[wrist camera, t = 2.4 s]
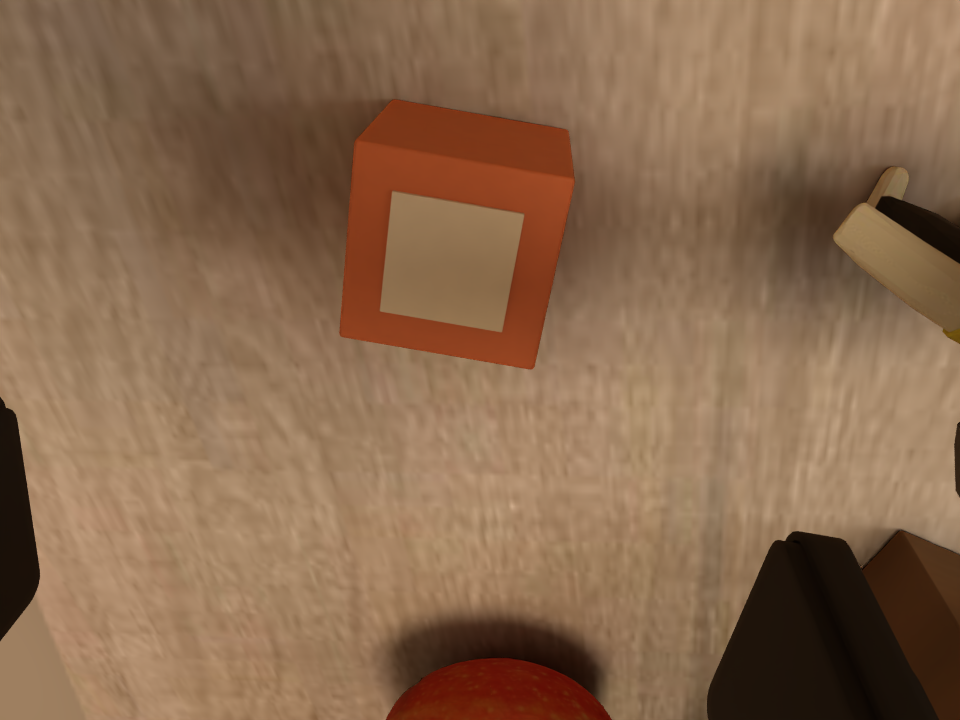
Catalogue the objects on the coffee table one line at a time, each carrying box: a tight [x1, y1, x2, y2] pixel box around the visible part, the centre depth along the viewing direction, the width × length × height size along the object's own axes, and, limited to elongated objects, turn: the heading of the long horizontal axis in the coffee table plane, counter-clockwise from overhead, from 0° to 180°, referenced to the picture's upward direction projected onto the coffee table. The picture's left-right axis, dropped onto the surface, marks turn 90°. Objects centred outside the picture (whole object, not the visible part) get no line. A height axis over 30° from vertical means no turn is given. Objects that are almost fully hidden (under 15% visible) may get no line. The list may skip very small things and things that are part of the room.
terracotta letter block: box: [339, 99, 575, 369], centre depth 19 cm, size 5×5×5 cm
